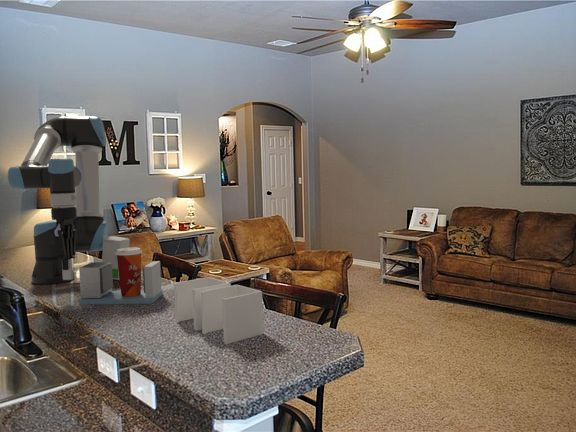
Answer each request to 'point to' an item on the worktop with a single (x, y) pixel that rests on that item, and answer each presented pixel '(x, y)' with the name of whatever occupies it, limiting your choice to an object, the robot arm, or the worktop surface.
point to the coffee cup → (129, 271)
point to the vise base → (147, 295)
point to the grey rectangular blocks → (220, 307)
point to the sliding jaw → (96, 279)
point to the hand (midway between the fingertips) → (68, 279)
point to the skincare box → (113, 252)
